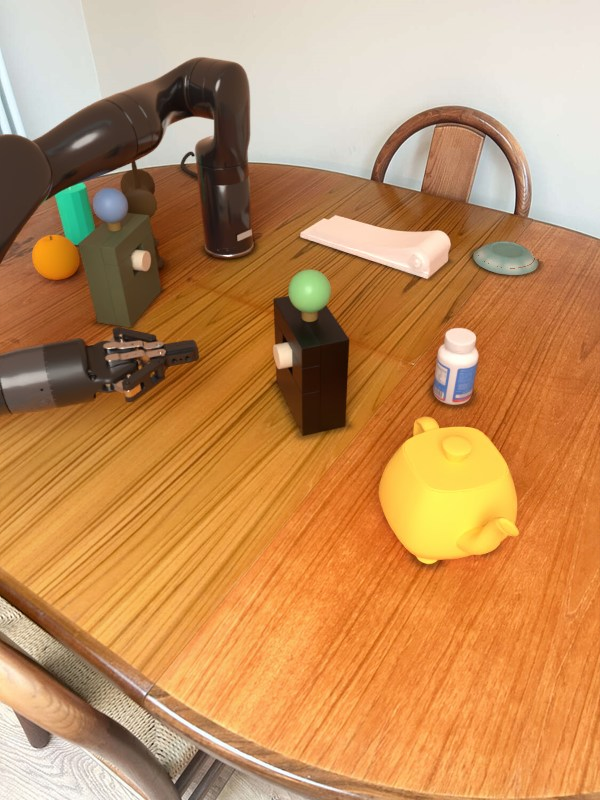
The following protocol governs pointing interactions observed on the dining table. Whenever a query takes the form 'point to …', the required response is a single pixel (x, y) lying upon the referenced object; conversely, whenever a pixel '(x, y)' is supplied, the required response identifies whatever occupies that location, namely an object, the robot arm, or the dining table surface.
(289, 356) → the stubby beige cylinder
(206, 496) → the dining table surface
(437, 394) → the pill bottle
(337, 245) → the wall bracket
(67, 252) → the orange fruit
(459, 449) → the teapot
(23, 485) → the dining table surface
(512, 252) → the saucer
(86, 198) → the candle
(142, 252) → the peach round puck
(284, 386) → the dark block with knob
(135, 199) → the kendama
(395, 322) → the dining table surface
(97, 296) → the olive block with peg
